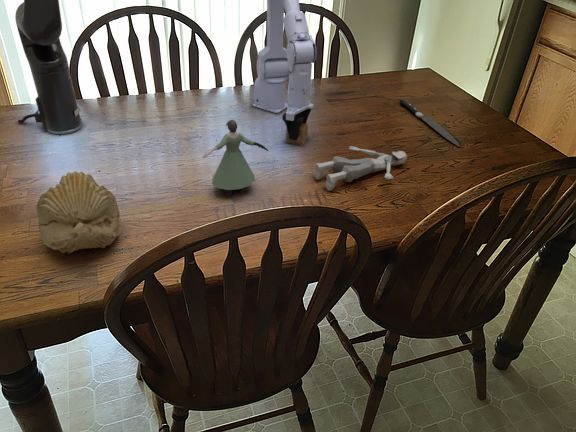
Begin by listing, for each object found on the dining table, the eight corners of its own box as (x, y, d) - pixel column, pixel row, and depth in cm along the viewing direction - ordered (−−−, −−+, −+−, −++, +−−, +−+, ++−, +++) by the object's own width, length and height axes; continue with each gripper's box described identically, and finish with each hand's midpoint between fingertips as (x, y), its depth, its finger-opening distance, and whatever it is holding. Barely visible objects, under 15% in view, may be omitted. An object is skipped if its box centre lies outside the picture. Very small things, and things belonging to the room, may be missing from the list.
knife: (466, 148, 141) (467, 144, 140) (454, 149, 140) (456, 144, 139) (407, 101, 165) (409, 97, 164) (397, 101, 163) (398, 97, 163)
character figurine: (262, 174, 124) (263, 106, 114) (275, 191, 118) (277, 121, 108) (200, 186, 119) (194, 116, 108) (210, 205, 113) (205, 133, 102)
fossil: (46, 277, 92) (24, 211, 83) (42, 224, 105) (23, 162, 96) (130, 258, 97) (117, 194, 89) (117, 209, 110) (105, 149, 101)
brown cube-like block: (285, 142, 139) (286, 127, 136) (290, 136, 142) (291, 120, 139) (302, 145, 137) (303, 130, 135) (307, 139, 141) (308, 124, 138)
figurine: (340, 203, 116) (425, 179, 125) (342, 185, 112) (429, 162, 122) (304, 167, 128) (384, 148, 138) (305, 150, 125) (387, 131, 134)
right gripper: (305, 99, 124) (302, 148, 132) (321, 80, 135) (318, 125, 143) (278, 95, 126) (277, 143, 134) (297, 76, 137) (294, 121, 145)
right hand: (296, 134), depth 138 cm, fingers open, 6 cm apart
